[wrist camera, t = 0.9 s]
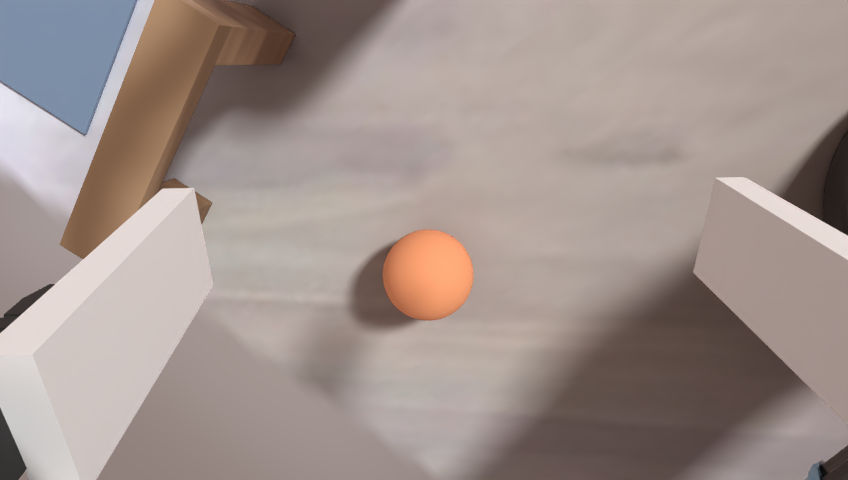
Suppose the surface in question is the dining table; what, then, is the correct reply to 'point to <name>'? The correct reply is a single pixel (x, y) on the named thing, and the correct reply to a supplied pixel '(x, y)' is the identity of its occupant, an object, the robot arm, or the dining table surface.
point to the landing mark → (61, 52)
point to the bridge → (164, 107)
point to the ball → (428, 275)
